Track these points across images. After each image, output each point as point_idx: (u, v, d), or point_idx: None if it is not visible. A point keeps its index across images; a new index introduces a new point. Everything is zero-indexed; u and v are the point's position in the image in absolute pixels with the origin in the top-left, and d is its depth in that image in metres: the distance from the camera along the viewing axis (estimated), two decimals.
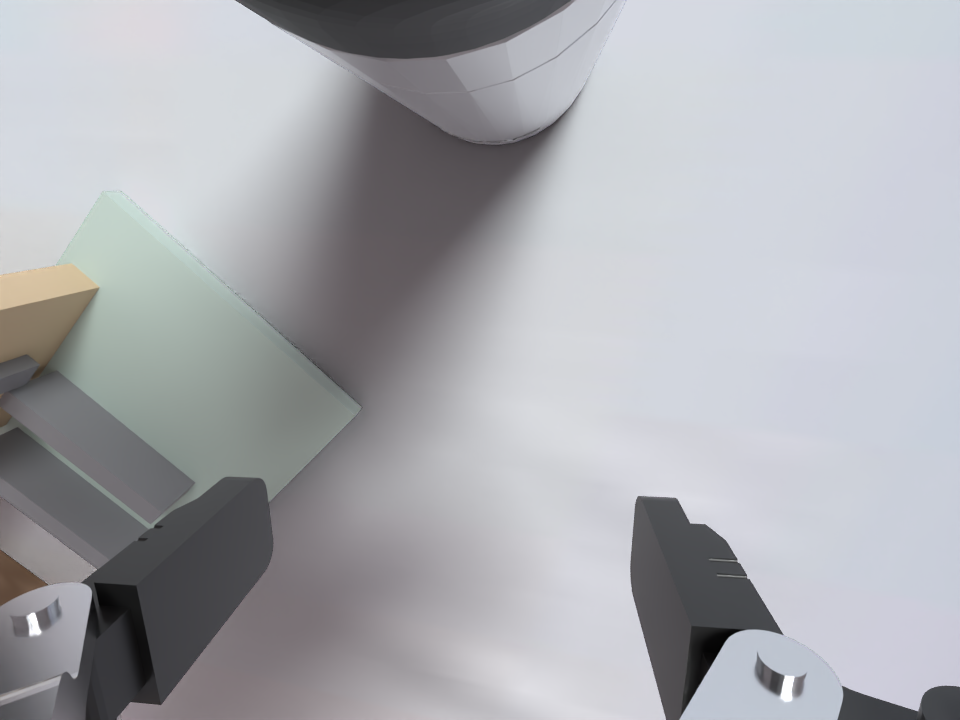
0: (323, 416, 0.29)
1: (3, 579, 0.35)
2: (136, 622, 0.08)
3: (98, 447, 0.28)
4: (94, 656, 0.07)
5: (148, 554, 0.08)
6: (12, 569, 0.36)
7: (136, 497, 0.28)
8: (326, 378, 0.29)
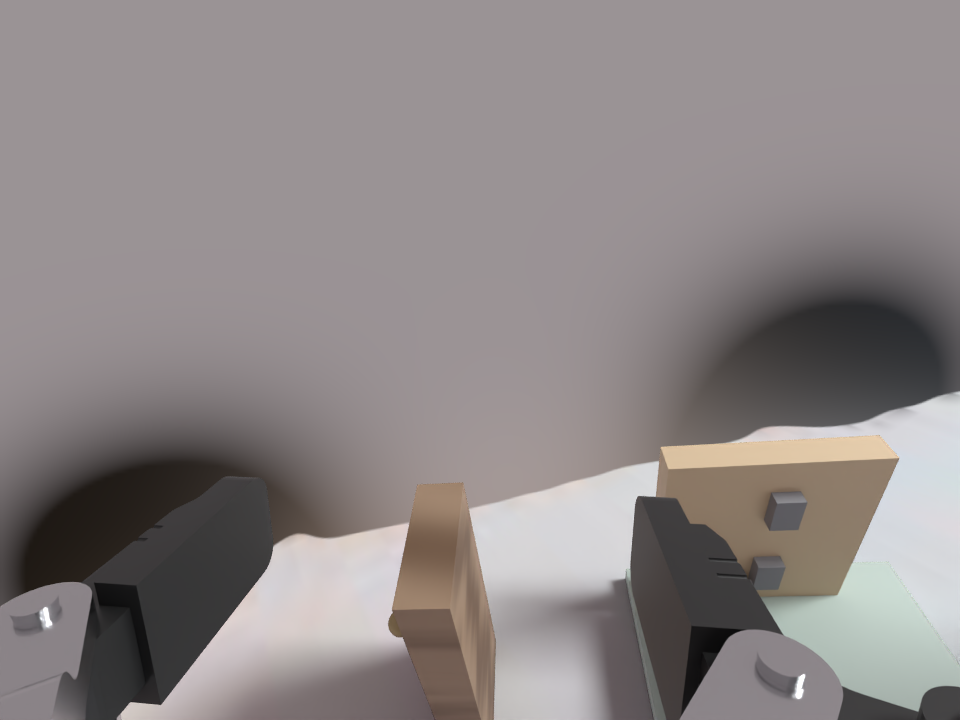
0: None
1: (491, 682, 0.32)
2: (136, 622, 0.08)
3: None
4: (94, 656, 0.07)
5: (148, 554, 0.08)
6: (493, 685, 0.33)
7: None
8: None
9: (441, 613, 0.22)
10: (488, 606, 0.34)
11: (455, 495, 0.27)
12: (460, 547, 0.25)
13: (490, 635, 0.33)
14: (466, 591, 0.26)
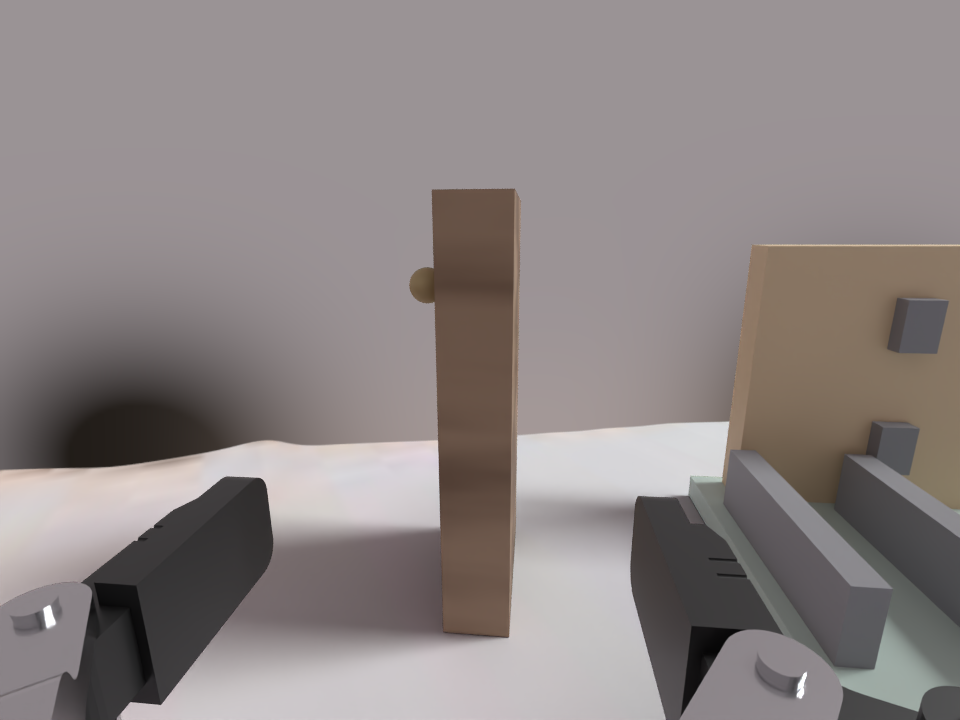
0: None
1: None
2: (136, 622, 0.08)
3: None
4: (94, 656, 0.07)
5: (148, 554, 0.08)
6: None
7: None
8: None
9: (501, 202, 0.15)
10: (516, 451, 0.25)
11: None
12: None
13: (515, 490, 0.24)
14: (516, 292, 0.19)
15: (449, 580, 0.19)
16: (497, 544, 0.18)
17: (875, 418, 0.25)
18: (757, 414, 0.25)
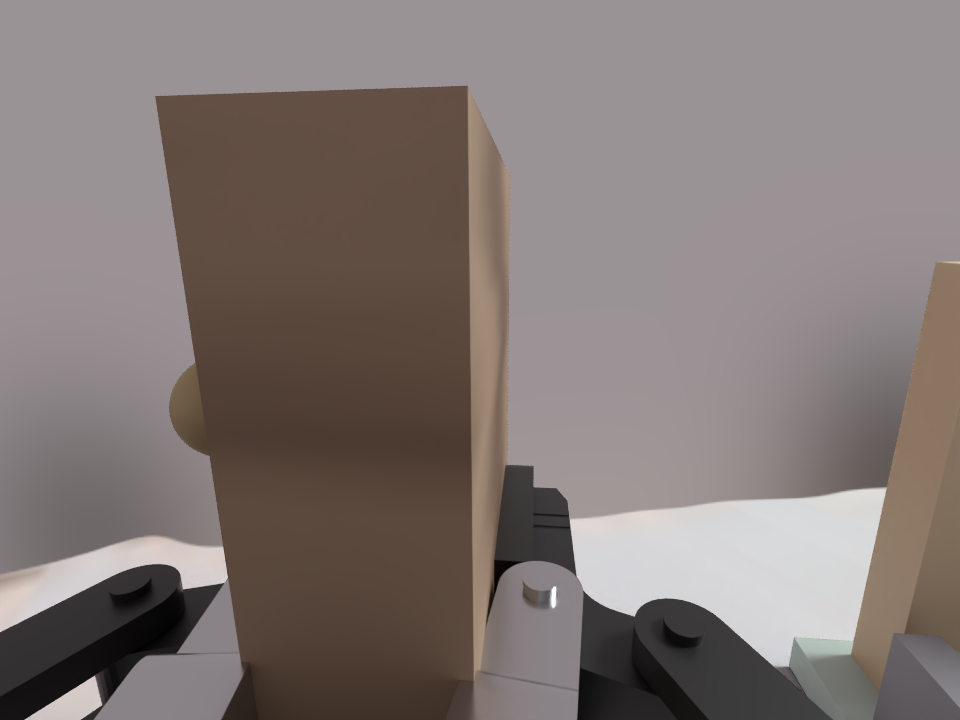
0: None
1: None
2: None
3: None
4: None
5: None
6: None
7: None
8: None
9: (416, 140, 0.04)
10: None
11: None
12: (498, 223, 0.08)
13: None
14: (495, 397, 0.07)
15: None
16: None
17: None
18: (942, 568, 0.14)
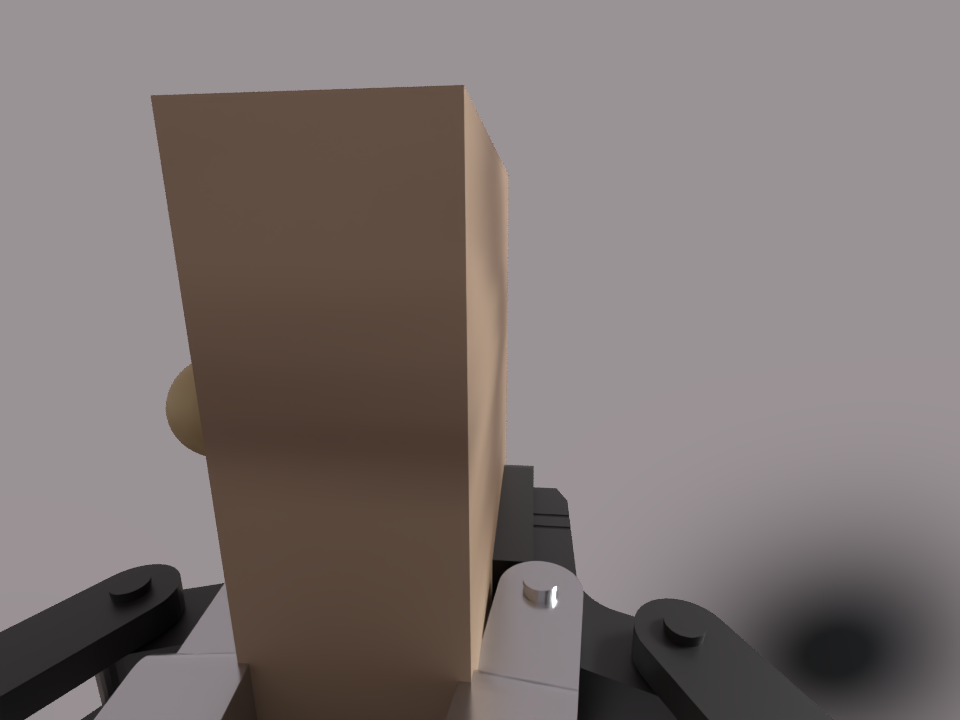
0: None
1: None
2: None
3: None
4: None
5: None
6: None
7: None
8: None
9: (412, 141, 0.04)
10: None
11: None
12: (496, 223, 0.08)
13: None
14: (493, 397, 0.07)
15: None
16: None
17: None
18: None
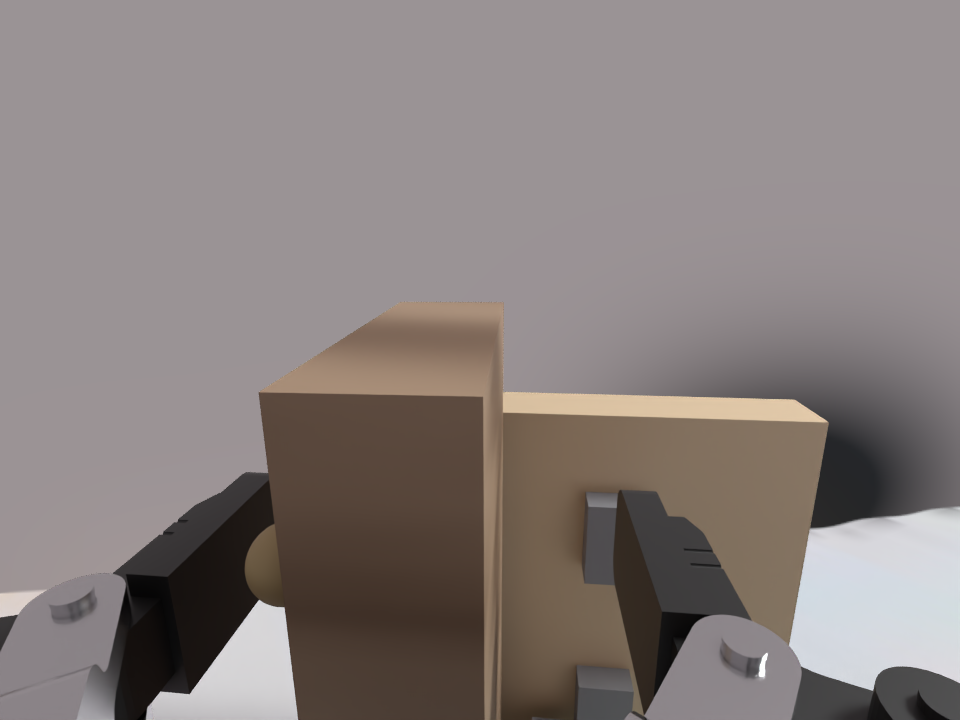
0: None
1: None
2: (166, 613, 0.08)
3: None
4: (128, 645, 0.07)
5: (176, 547, 0.08)
6: None
7: None
8: None
9: (447, 429, 0.06)
10: None
11: (487, 308, 0.11)
12: (497, 382, 0.09)
13: None
14: (495, 526, 0.09)
15: None
16: None
17: (580, 661, 0.16)
18: None
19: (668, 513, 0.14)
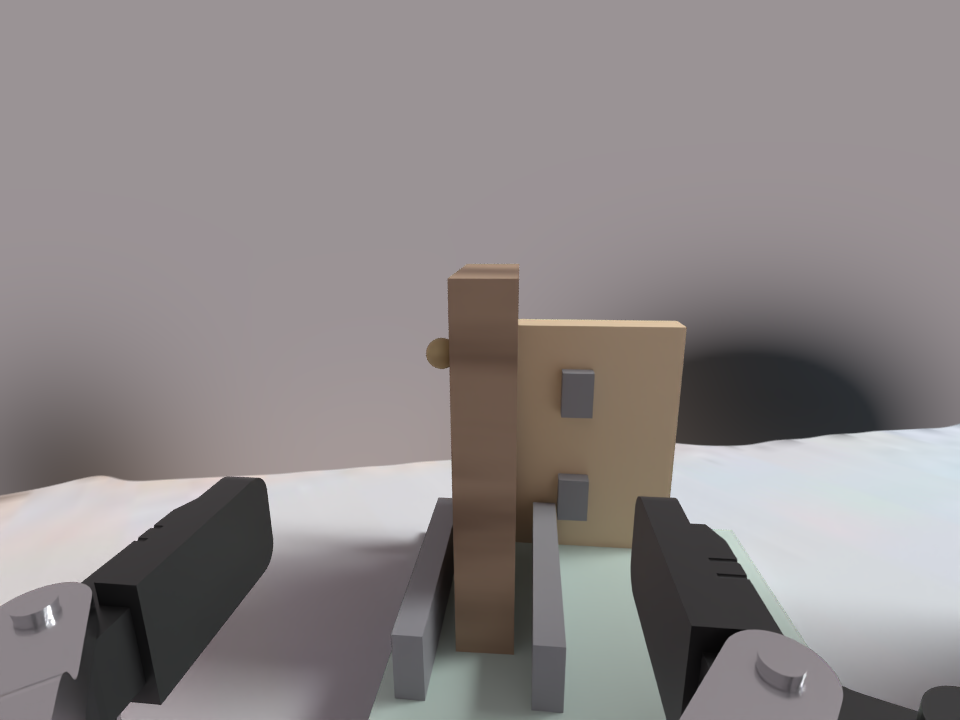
0: None
1: None
2: (136, 622, 0.08)
3: None
4: (94, 656, 0.07)
5: (148, 554, 0.08)
6: None
7: (556, 616, 0.20)
8: None
9: (507, 289, 0.18)
10: None
11: (511, 265, 0.24)
12: None
13: None
14: None
15: (461, 606, 0.21)
16: (503, 575, 0.21)
17: (560, 471, 0.28)
18: None
19: (606, 380, 0.27)
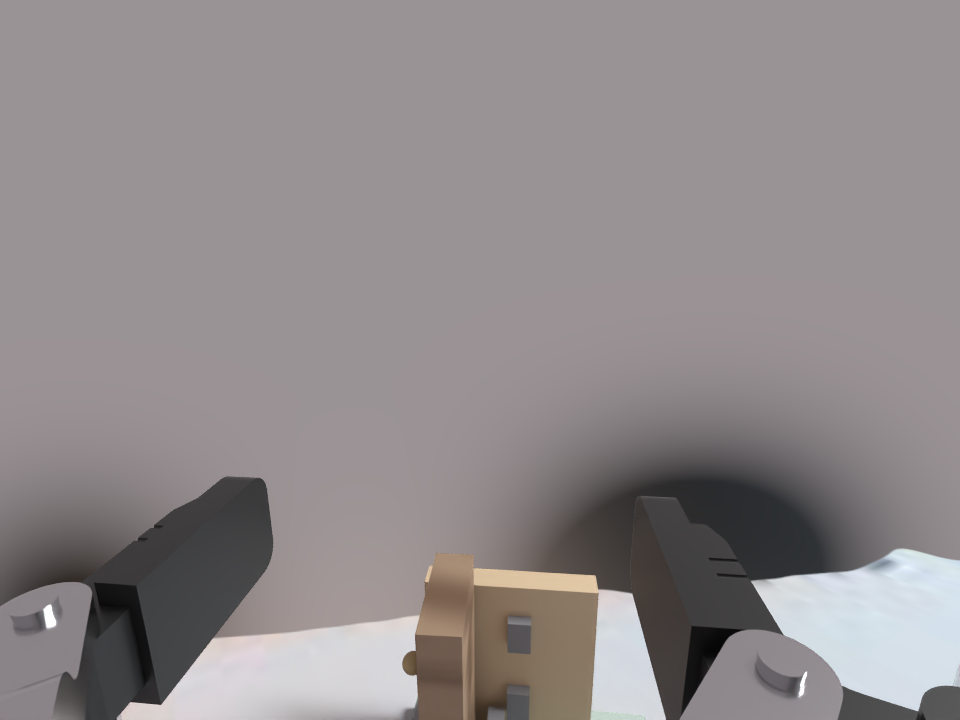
0: None
1: None
2: (136, 622, 0.08)
3: None
4: (94, 656, 0.07)
5: (148, 554, 0.08)
6: None
7: None
8: None
9: (454, 642, 0.27)
10: (474, 696, 0.37)
11: (467, 562, 0.33)
12: (468, 602, 0.31)
13: None
14: (468, 647, 0.31)
15: None
16: None
17: (509, 682, 0.37)
18: None
19: (541, 624, 0.36)
